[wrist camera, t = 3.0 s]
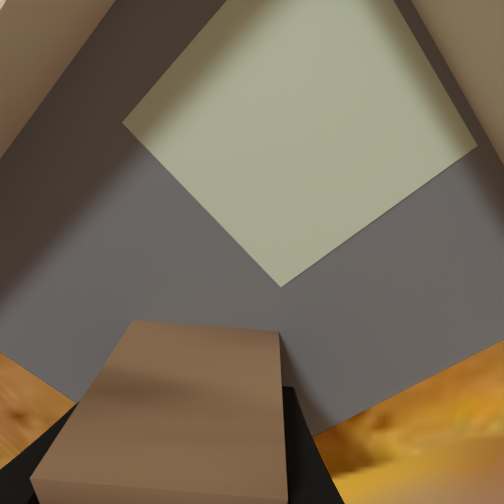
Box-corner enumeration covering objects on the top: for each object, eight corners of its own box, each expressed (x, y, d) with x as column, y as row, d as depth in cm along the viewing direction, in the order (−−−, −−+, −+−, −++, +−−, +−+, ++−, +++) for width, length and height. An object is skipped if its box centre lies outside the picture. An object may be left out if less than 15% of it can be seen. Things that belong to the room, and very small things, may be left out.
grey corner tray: (209, 472, 15) (194, 562, 12) (-115, 246, 11) (-265, 298, 8) (610, 258, 10) (765, 324, 7) (293, -387, 5) (329, -1075, 2)
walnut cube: (266, 429, 12) (267, 612, 8) (145, 419, 13) (75, 594, 8) (278, 331, 10) (288, 499, 6) (132, 320, 10) (29, 477, 6)
